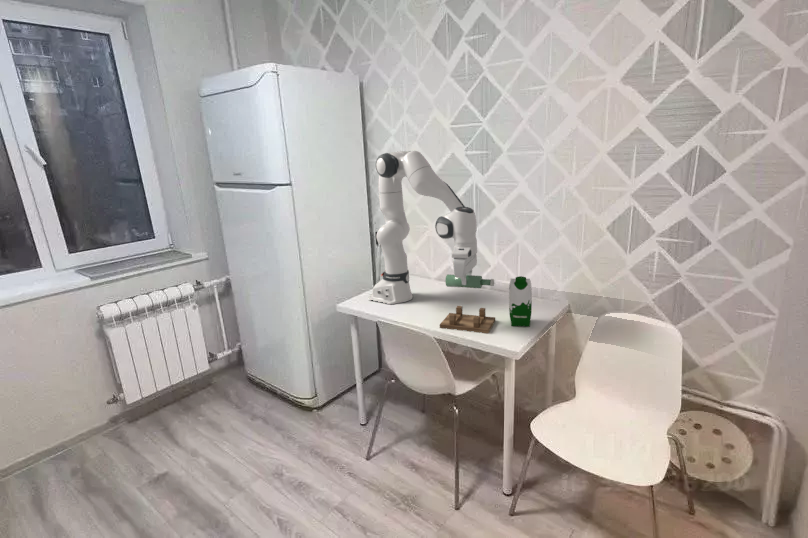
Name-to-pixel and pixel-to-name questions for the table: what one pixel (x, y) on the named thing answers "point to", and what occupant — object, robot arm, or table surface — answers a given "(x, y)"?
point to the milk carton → (520, 301)
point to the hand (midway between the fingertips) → (466, 282)
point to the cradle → (468, 321)
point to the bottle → (468, 281)
